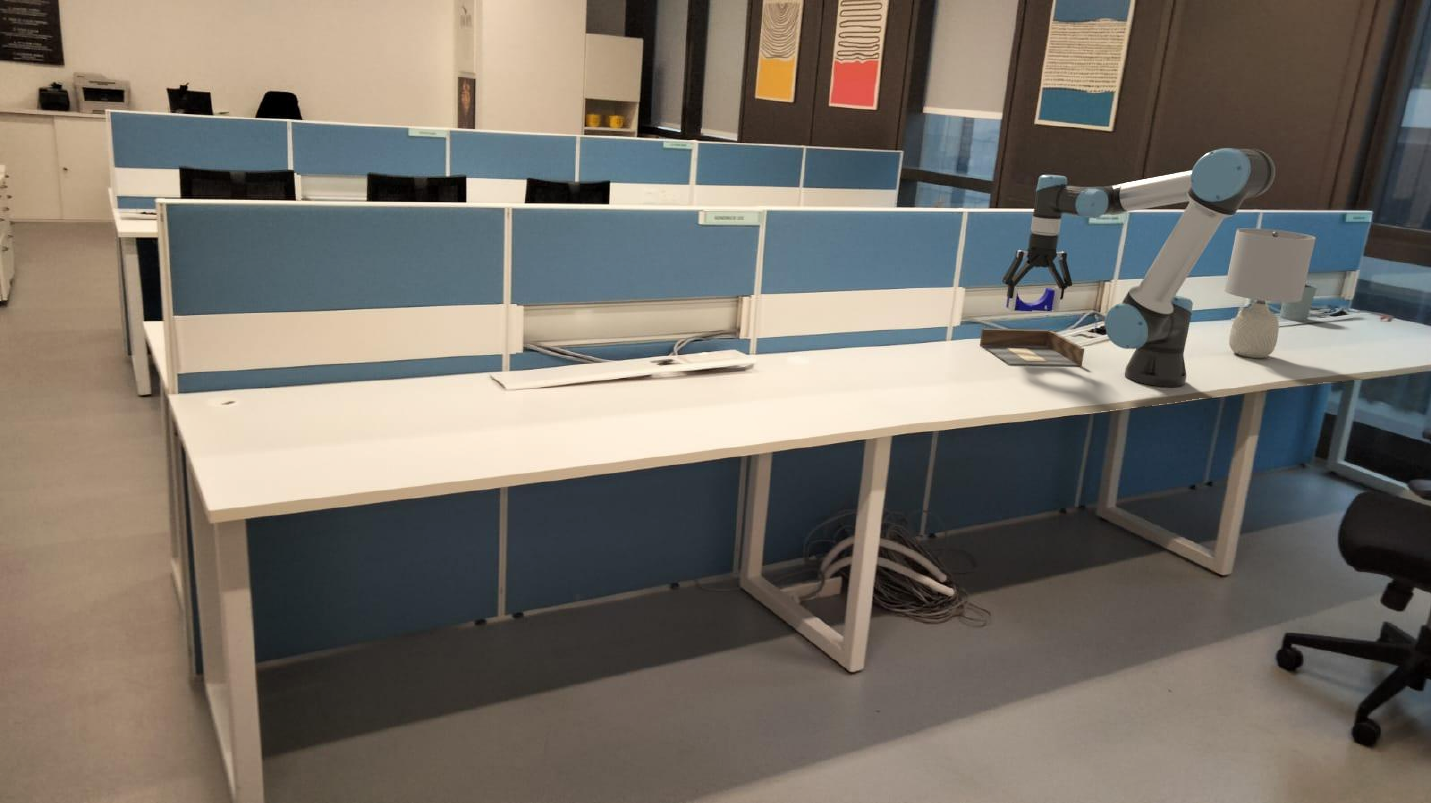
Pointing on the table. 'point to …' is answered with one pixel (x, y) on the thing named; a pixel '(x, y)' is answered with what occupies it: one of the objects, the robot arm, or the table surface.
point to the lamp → (1265, 284)
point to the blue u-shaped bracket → (1036, 302)
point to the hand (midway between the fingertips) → (1033, 310)
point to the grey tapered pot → (1299, 305)
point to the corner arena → (1031, 347)
